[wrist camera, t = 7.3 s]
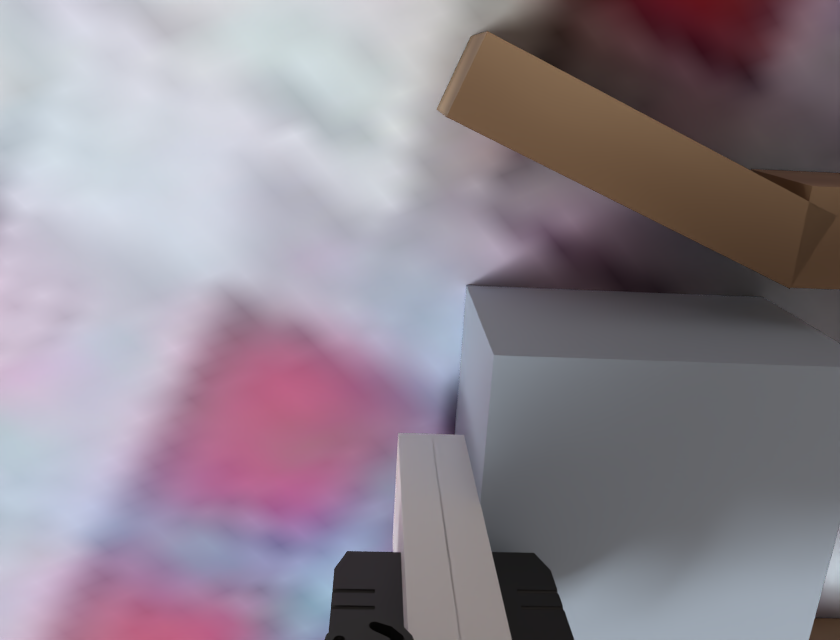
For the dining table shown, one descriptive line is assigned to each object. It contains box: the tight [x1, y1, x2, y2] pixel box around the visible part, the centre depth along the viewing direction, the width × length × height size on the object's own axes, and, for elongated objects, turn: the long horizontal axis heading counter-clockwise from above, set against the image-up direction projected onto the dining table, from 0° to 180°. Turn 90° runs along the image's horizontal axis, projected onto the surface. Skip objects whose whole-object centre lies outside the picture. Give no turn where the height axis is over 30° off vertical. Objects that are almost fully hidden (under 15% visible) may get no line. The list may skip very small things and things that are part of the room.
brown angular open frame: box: [437, 31, 840, 640], centre depth 18 cm, size 19×18×3 cm
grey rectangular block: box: [455, 285, 840, 640], centre depth 17 cm, size 8×7×4 cm
